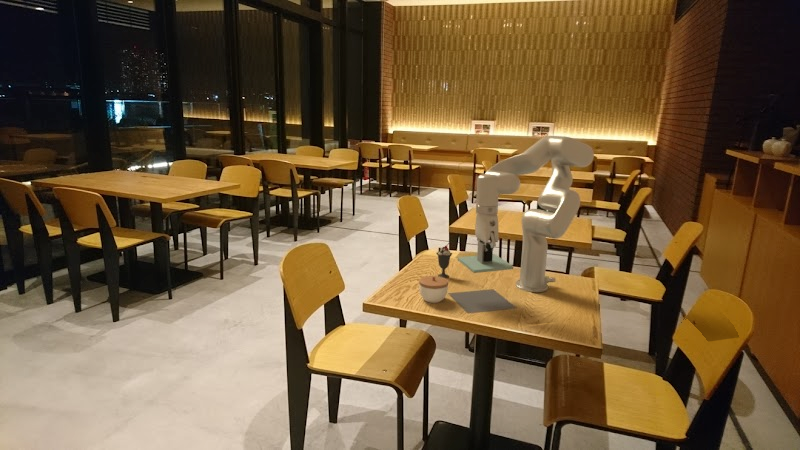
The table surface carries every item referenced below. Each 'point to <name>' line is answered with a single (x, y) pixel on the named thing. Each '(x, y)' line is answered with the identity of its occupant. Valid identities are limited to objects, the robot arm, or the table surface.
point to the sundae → (444, 260)
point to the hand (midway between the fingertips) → (484, 258)
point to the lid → (479, 265)
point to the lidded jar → (433, 288)
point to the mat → (481, 301)
